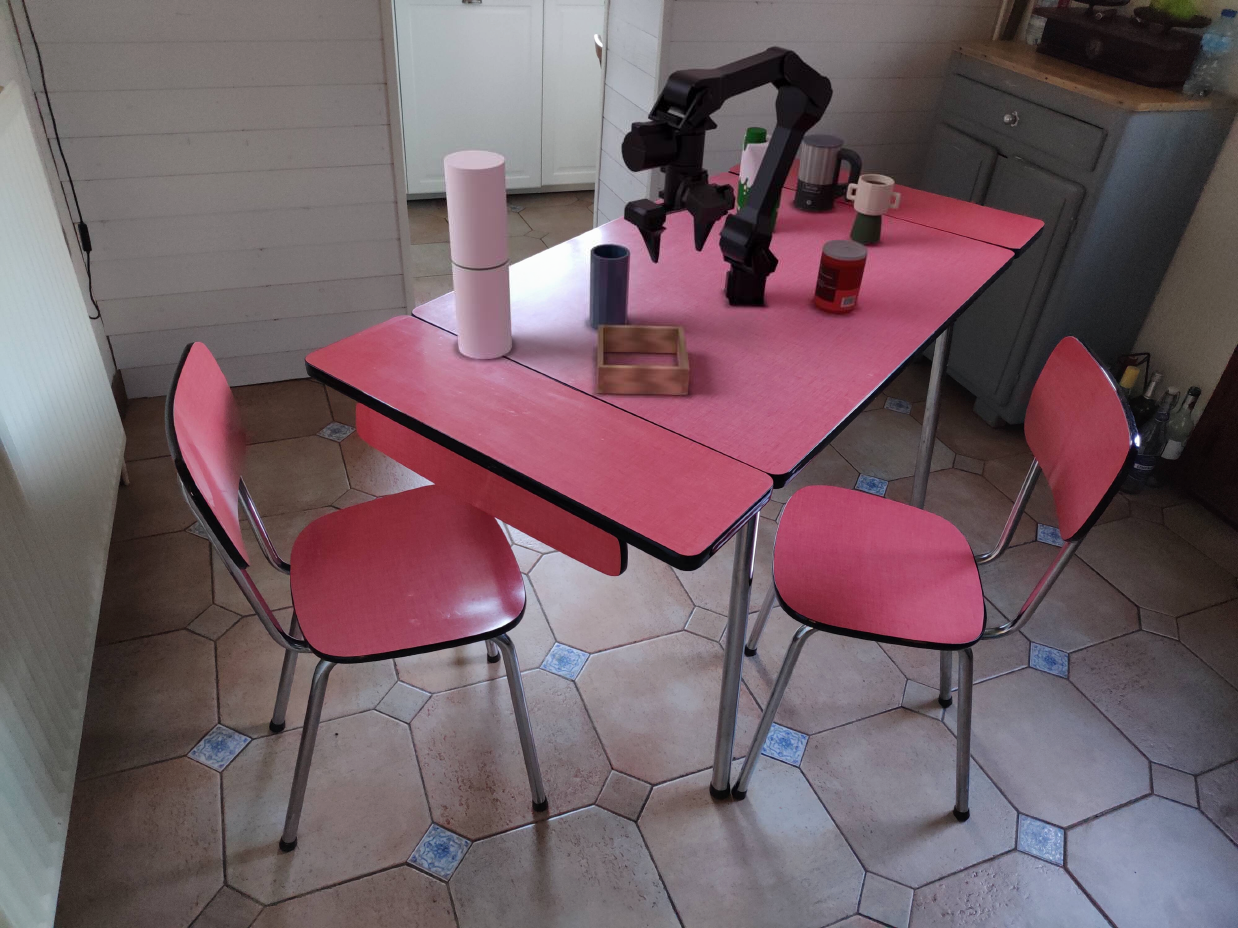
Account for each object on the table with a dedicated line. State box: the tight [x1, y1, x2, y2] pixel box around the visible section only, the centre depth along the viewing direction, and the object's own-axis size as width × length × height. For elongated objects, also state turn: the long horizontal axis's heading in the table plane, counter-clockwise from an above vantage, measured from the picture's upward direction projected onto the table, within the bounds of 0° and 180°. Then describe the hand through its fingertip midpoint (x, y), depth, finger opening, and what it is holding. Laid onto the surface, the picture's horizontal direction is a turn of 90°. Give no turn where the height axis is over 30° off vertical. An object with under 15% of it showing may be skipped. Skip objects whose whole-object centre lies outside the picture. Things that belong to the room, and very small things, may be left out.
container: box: [443, 149, 513, 360], centre depth 135 cm, size 9×9×30 cm
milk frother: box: [792, 133, 863, 213], centre depth 200 cm, size 14×16×15 cm
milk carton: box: [736, 126, 783, 233], centre depth 185 cm, size 9×9×20 cm
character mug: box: [847, 173, 902, 245], centre depth 182 cm, size 11×7×13 cm, turn 61°
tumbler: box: [588, 243, 631, 331], centre depth 148 cm, size 6×6×13 cm
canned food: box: [813, 239, 869, 316], centre depth 157 cm, size 8×8×11 cm
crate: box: [596, 324, 691, 396], centre depth 138 cm, size 14×14×4 cm
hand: (676, 256), depth 146 cm, fingers open, 9 cm apart
